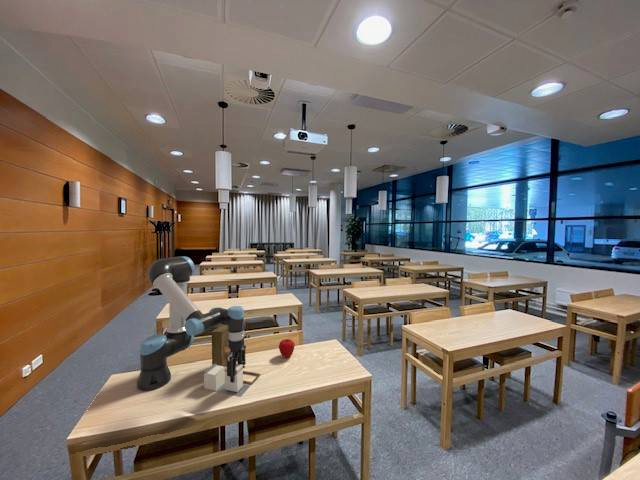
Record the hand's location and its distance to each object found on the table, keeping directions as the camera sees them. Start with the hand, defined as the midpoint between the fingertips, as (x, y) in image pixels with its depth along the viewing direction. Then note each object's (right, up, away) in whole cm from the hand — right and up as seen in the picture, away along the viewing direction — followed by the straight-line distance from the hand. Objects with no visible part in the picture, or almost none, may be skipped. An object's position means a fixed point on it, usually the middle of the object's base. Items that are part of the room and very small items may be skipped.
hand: (236, 384), depth 132 cm
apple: (+20, -2, +36) cm, 41 cm away
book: (-13, -3, +21) cm, 24 cm away
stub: (-2, -2, +1) cm, 3 cm away
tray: (+3, -3, +10) cm, 11 cm away
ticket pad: (-12, -2, +4) cm, 13 cm away
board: (-6, -4, +2) cm, 7 cm away
